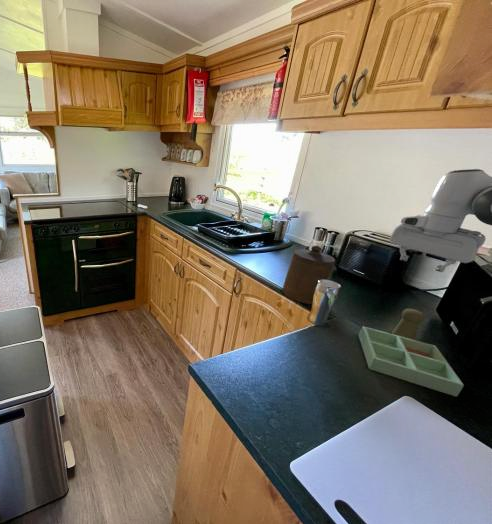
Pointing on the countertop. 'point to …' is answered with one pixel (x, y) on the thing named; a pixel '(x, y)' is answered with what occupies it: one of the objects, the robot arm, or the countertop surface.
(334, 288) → the beer glass
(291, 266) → the wooden container
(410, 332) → the cork
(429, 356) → the compartment tray
